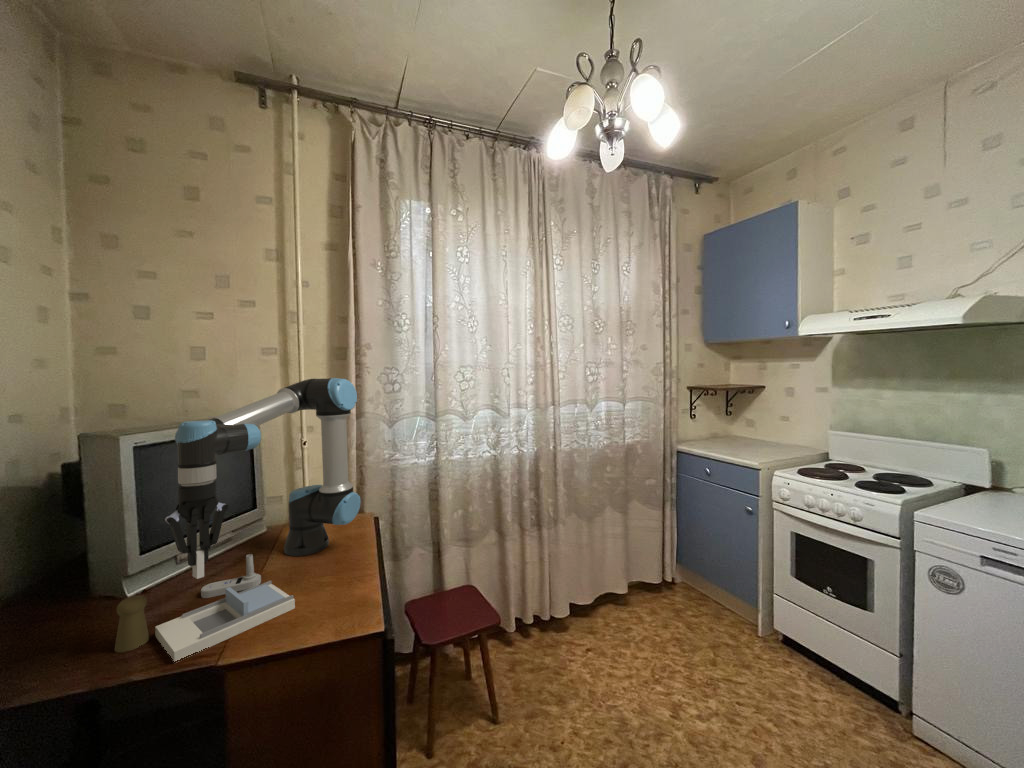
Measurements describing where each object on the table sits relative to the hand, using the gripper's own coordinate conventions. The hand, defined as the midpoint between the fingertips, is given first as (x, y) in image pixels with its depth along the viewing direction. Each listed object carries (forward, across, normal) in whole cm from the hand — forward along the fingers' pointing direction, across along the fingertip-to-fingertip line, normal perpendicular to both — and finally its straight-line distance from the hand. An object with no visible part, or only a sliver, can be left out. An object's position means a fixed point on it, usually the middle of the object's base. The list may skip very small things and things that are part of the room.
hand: (198, 576), depth 97 cm
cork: (+15, +10, -10) cm, 20 cm away
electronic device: (+15, -14, -17) cm, 27 cm away
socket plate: (+15, -6, +1) cm, 16 cm away
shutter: (+12, -12, +1) cm, 17 cm away
